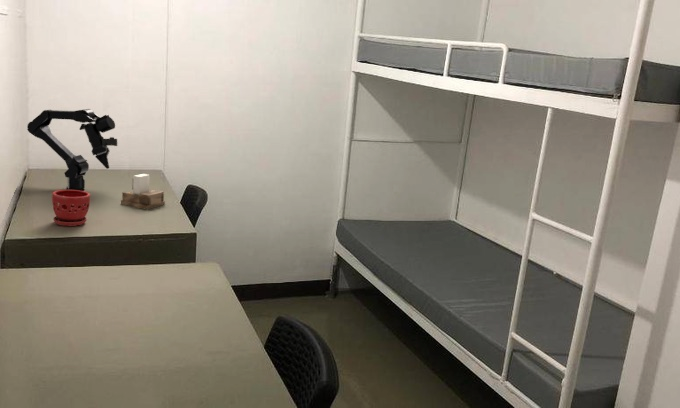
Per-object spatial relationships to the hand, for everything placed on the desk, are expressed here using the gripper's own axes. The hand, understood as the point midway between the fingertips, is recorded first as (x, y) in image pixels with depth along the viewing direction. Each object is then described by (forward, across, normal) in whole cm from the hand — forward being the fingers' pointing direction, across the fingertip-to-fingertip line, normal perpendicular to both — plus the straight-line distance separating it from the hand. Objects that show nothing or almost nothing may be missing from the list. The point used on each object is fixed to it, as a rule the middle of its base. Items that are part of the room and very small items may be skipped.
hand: (108, 168), depth 283 cm
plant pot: (+16, -46, +17) cm, 51 cm away
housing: (+20, -14, -8) cm, 25 cm away
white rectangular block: (+18, -14, -8) cm, 24 cm away
